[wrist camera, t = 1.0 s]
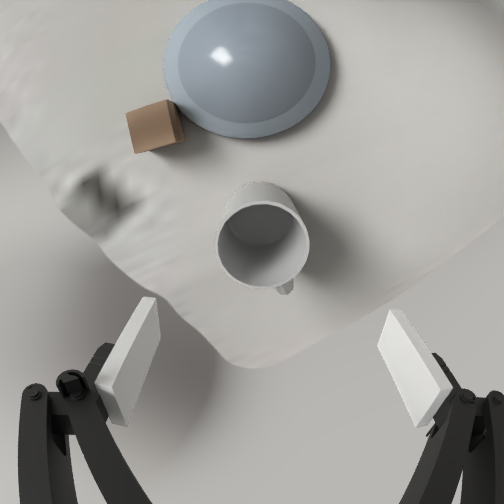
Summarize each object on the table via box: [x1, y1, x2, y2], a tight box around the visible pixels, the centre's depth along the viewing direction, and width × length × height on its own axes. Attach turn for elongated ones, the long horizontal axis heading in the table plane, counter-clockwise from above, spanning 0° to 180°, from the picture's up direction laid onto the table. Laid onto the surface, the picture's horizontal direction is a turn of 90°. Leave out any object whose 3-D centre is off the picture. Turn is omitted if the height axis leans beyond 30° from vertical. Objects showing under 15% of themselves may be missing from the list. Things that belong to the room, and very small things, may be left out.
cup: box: [214, 182, 310, 295], centre depth 27 cm, size 7×10×9 cm
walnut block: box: [126, 100, 185, 154], centre depth 25 cm, size 4×4×4 cm
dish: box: [163, 0, 331, 138], centre depth 24 cm, size 16×16×1 cm
